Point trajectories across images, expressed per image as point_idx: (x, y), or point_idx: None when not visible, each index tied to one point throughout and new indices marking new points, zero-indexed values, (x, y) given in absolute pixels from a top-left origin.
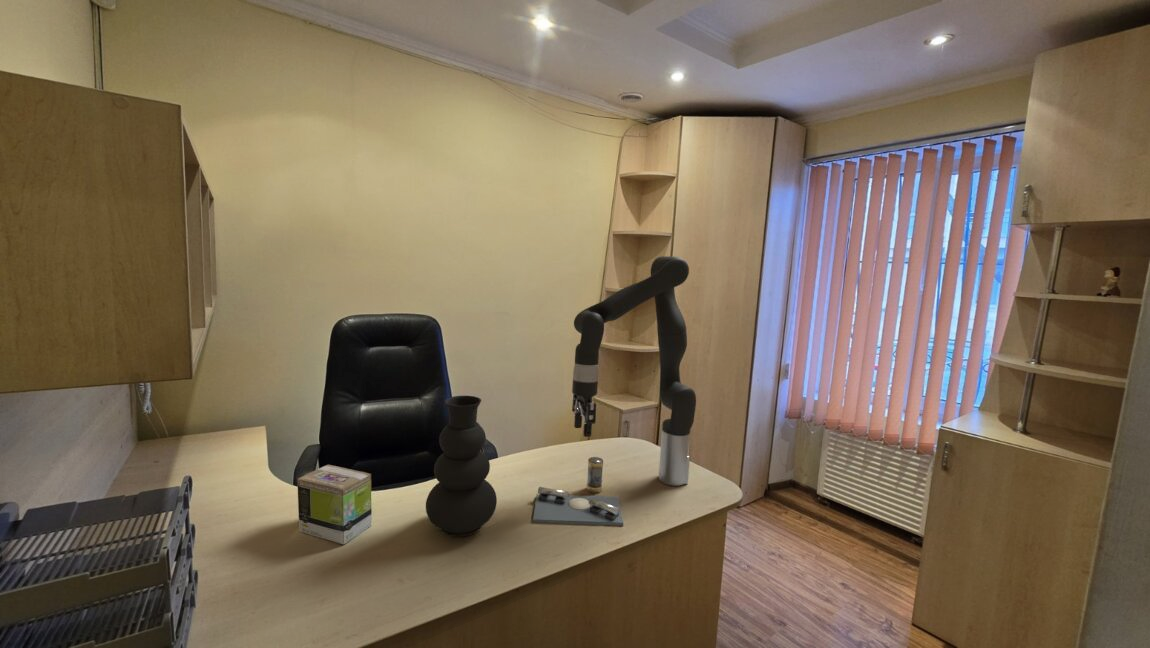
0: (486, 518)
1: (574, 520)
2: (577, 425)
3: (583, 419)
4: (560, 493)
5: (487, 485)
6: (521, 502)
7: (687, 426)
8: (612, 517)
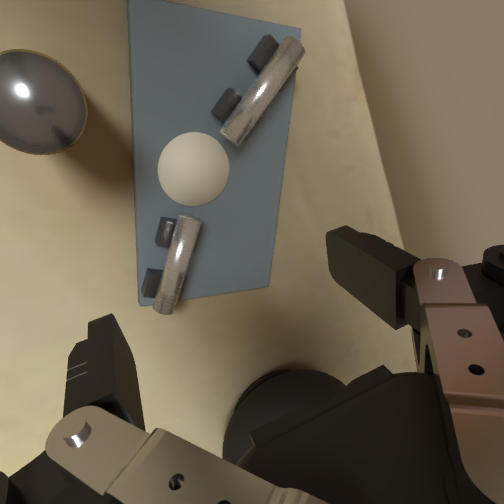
0: (332, 376)
1: (279, 186)
2: (127, 355)
3: (415, 360)
4: (194, 243)
5: None
6: (172, 330)
7: None
8: (297, 68)
